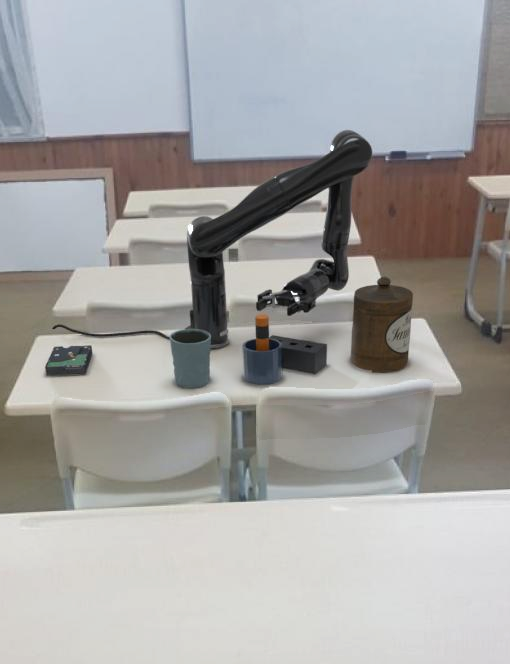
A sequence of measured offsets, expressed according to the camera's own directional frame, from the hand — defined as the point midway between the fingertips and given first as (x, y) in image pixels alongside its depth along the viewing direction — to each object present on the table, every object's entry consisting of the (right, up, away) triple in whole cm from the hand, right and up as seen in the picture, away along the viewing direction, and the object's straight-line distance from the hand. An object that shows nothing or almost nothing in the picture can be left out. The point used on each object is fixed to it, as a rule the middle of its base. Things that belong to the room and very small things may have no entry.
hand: (273, 309), depth 208 cm
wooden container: (+28, -11, +12) cm, 32 cm away
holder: (+6, -12, +11) cm, 17 cm away
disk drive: (-53, -11, +16) cm, 57 cm away
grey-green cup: (-20, -17, +4) cm, 27 cm away
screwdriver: (-2, -16, +4) cm, 17 cm away
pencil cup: (-2, -16, +5) cm, 17 cm away
